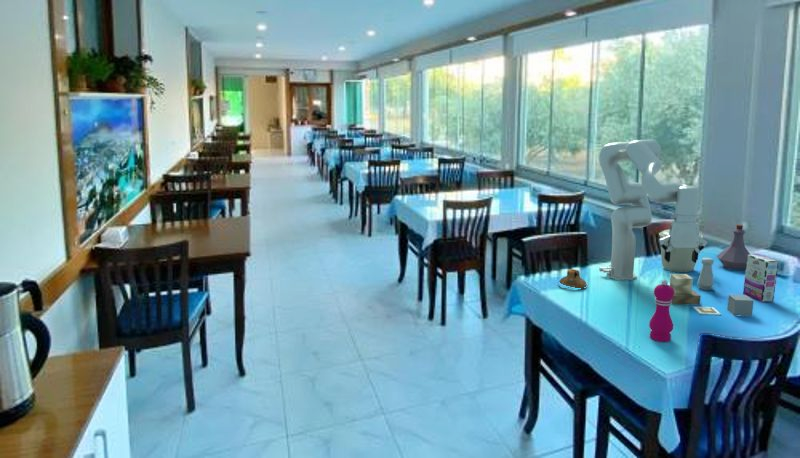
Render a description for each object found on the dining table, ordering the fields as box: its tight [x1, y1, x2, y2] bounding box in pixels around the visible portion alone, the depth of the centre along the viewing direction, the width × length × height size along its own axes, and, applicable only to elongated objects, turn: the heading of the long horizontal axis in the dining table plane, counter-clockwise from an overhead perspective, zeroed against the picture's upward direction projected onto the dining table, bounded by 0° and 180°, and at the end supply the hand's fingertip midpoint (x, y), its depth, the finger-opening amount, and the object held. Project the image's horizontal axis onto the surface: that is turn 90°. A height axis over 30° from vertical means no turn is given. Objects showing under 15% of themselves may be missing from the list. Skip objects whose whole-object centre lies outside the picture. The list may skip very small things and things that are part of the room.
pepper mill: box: [648, 279, 674, 343], centre depth 183 cm, size 7×7×20 cm
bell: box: [558, 268, 588, 289], centre depth 239 cm, size 12×12×7 cm
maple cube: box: [669, 273, 694, 294], centre depth 219 cm, size 6×6×6 cm
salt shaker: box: [697, 257, 715, 291], centre depth 232 cm, size 6×6×13 cm
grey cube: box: [726, 294, 755, 317], centre depth 205 cm, size 6×6×6 cm
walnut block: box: [671, 289, 701, 306], centre depth 220 cm, size 10×10×4 cm
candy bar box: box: [742, 253, 780, 303], centre depth 219 cm, size 11×5×16 cm, turn 5°
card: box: [692, 306, 721, 316], centre depth 208 cm, size 7×7×1 cm
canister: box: [658, 228, 704, 273], centre depth 258 cm, size 18×18×21 cm
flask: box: [716, 224, 752, 271], centre depth 260 cm, size 16×16×20 cm
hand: (680, 261), depth 218 cm, fingers open, 9 cm apart
